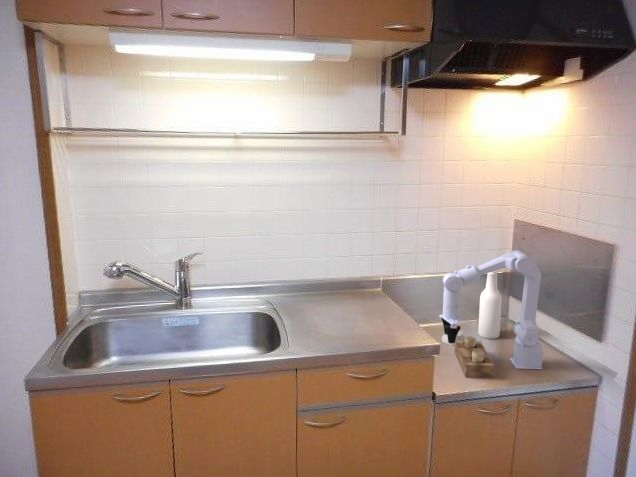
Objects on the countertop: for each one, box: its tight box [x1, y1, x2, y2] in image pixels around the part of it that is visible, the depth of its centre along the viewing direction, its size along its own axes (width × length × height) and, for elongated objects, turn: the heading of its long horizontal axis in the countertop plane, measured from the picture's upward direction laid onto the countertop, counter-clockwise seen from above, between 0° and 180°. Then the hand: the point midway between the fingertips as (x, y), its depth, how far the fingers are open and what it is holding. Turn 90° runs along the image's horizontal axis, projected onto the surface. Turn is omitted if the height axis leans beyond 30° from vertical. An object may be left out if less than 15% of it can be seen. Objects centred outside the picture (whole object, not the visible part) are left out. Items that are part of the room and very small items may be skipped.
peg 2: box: [472, 350, 484, 363], centre depth 168 cm, size 4×4×5 cm
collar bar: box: [453, 340, 496, 379], centre depth 174 cm, size 10×20×5 cm, turn 175°
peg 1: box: [464, 335, 477, 348], centre depth 179 cm, size 4×4×5 cm
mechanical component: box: [441, 330, 466, 346], centre depth 195 cm, size 10×4×10 cm
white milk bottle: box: [477, 269, 503, 340], centre depth 196 cm, size 9×9×30 cm
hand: (449, 338), depth 174 cm, fingers open, 7 cm apart
